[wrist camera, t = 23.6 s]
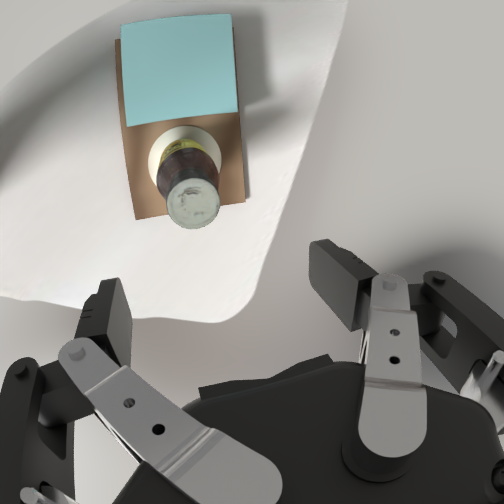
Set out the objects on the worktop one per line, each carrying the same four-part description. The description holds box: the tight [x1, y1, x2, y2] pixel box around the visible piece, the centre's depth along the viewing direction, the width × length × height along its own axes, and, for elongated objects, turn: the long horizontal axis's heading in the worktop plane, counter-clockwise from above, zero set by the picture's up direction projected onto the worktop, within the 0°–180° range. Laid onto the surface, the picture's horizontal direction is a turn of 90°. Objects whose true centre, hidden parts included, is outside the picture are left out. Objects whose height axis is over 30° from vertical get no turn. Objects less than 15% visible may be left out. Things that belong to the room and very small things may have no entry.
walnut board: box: [115, 27, 246, 220], centre depth 37 cm, size 16×26×1 cm, turn 4°
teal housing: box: [121, 14, 238, 127], centre depth 31 cm, size 13×13×5 cm
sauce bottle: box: [156, 139, 221, 229], centre depth 30 cm, size 6×6×20 cm
